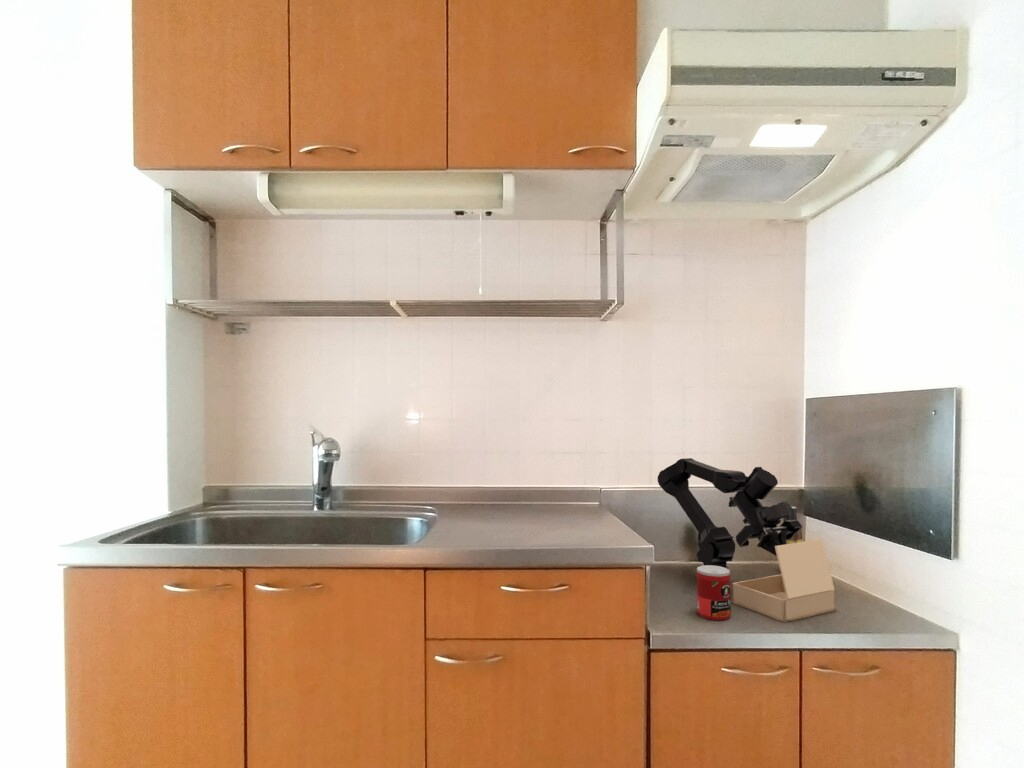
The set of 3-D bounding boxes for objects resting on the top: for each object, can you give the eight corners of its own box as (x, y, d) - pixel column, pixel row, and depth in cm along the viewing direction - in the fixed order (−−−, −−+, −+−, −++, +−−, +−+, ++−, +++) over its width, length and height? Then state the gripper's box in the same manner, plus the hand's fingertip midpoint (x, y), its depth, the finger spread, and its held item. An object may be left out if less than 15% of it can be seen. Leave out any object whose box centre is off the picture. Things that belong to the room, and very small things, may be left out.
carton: (732, 602, 154) (731, 583, 154) (781, 592, 162) (781, 574, 162) (784, 622, 140) (783, 600, 140) (836, 610, 147) (835, 589, 148)
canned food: (715, 623, 140) (714, 575, 140) (690, 613, 147) (689, 567, 147) (738, 617, 143) (737, 571, 144) (713, 607, 150) (712, 563, 151)
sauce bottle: (800, 570, 184) (798, 505, 185) (808, 576, 178) (806, 508, 179) (778, 570, 185) (776, 505, 185) (785, 575, 178) (783, 508, 179)
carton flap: (774, 546, 144) (776, 545, 143) (819, 539, 151) (821, 539, 150) (786, 598, 140) (788, 598, 140) (832, 589, 147) (834, 589, 147)
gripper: (743, 493, 151) (781, 546, 140) (794, 488, 159) (834, 538, 148) (720, 520, 157) (755, 573, 147) (771, 514, 165) (807, 563, 155)
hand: (789, 561), depth 149 cm, fingers closed
